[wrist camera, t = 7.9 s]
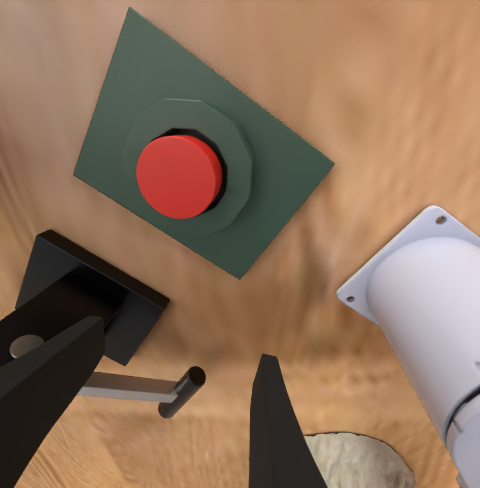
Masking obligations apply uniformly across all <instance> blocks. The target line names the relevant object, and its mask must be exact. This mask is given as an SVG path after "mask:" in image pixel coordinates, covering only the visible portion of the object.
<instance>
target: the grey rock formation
mask: <svg viewBox="0 0 480 488" xmlns="http://www.w3.org/2000/svg"><path fill="white" fill-rule="evenodd" d="M304 438H305V440H306V443H307V445H308V447H309V449H310V452H311V454H312V456H313V458H314V460H315V462H316V464H317V466H318V469H319V471H320V473H321V475H322V477H323V479H324V481H325V483H326V485H327V487H328V488H418V487H417V485H416V482H415V477H414V475H413V473H412V472H411V470H410V468H408V467H407V466H406V465H405V463H404V460H403V459H402V458H401V457H400V456H399V454H398V453H397V452H395V451H393V448H391V447H390V446H388V445H386V443H385V442H381V441H380V440H379V441H378V440H377V439H373V438H370V437H367V436H363V435H360V436H357V435H355V434H352V433H338V434H334V433H330V434H326V435H325V434H317V435H316V436H314V437H312V436H304Z"/></svg>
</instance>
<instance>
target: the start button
mask: <svg viewBox="0 0 480 488" xmlns="http://www.w3.org/2000/svg"><path fill="white" fill-rule="evenodd" d="M137 181H138V185H139V188H140V190H141V193H142V195H143V196H144V198H145V199H146V201H147V202H148V203H149V204H150V205H151V206H152V207H153V208H154V209H155V210H157V211H158V212H160V213H161V214H163V215H165V216H168V217H171V218H176V219H187V218H191V217H194V216H197V215H198V214H200V213H202V212H203V211H204V210H205V209H206V208H207V207H208V206H209V205H210V203H211V202H212V201H213V200H214V198H215V197H216V196H217V194H218V192H219V191H220V188H221V184H222V167H221V164H220V161H219V159H218V157H217V155H216V153H215V152H214V150H213V149H212V148H211V147H210V146H209V145H208V144H207V143H205V142H204V141H202V140H201V139H198V138H196V137H193V136H188V135H177V136H166V137H161V138H158V139H156V140H154V141H152V142H151V143H150V144H148V145H147V146H146V147H145V149H144V150H143V151H142V153H141V155H140V157H139V160H138V164H137Z"/></svg>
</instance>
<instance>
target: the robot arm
mask: <svg viewBox="0 0 480 488" xmlns="http://www.w3.org/2000/svg"><path fill="white" fill-rule="evenodd" d="M440 216H442V219H441V220H440V221H439V222H436V220H437V218H438V217H440ZM336 295H337V298H338V299H339V300H340V301H341V302H343V303H344V304H346V305H347V306H349V307H350V308H352V309H353V310H355V311H356V312H358V313H359V314H361V315H362V316H364V317H365V318H367V319H369V320H370V321H372V322H373V323H375V324H376V325H378V326H379V327H380V328H381V330H382V332H383V334H384V336H385V338H386V339H387V341H388V343H389V345H390V347H391V349H392V350H393V352H394V354H395V356H396V358H397V359H398V361H399V363H400V365H401V367H402V369H403V370H404V372H405V374H406V376H407V378H408V379H409V381H410V383H411V385H412V387H413V389H414V390H415V392H416V394H417V396H418V398H419V400H420V401H421V403H422V405H423V407H424V409H425V410H426V412H427V414H428V416H429V418H430V420H431V421H432V423H433V425H434V427H435V429H436V431H437V432H438V434H439V436H440V438H441V440H442V441H443V443H444V445H445V447H446V448H447V450H448V451H449V454H450V456H451V458H452V460H453V461H454V463H455V465H456V467H457V469H458V471H459V474H458V476H457V478H456V480H457V482H458V484H459V486H460V488H480V238H479V237H477V236H476V235H475V234H474V233H472V232H471V231H470V230H469V229H467V228H466V227H465V226H464V225H462V224H461V223H460V222H459V221H457V220H456V219H455V218H454V217H452V216H451V215H450V214H449V213H447V212H446V211H445V210H444V209H442V208H440V207H438V206H436V205H432V206H428V207H427V208H425V209H424V210H423V211H422V212H421V213H420V214H419V215H418V216H417V217H416V218H414V219H413V220H412V221H411V222H410V223H409V224H408V225H407V226H406V227H405V228H404V229H403V230H401V231H400V232H399V233H398V234H397V235H396V236H395V237H394V238H393V239H392V240H391V241H390V242H389V243H387V244H386V245H385V246H384V247H383V248H382V249H381V250H380V251H379V252H378V253H377V254H376V255H374V256H373V257H372V258H371V259H370V260H369V261H368V262H367V263H366V264H365V265H364V266H363V267H361V268H360V269H359V270H358V271H357V272H356V273H355V274H354V275H353V276H352V277H351V278H350V279H348V280H347V281H346V282H345V283H344V284H343V285H342V286H341V287H340V288H339V289H338V290H337V291H336ZM348 297H352V298H351V299H347V298H348ZM105 351H106V348H105V335H104V322H103V318H101V317H96V316H92V315H89V316H88V317H86V318H84V319H83V320H81V321H79V322H78V323H76V324H74V325H73V326H71V327H69V328H68V329H66V330H65V331H63V332H61V333H60V334H58V335H56V336H55V337H53V338H51V339H50V340H48V341H46V342H44V343H43V344H41V345H39V346H38V347H36V348H34V349H33V350H31V351H29V352H27V353H25V354H24V355H22V356H20V357H18V358H16V359H14V360H13V361H11V362H9V363H7V364H5V365H4V366H2V367H0V488H14V486H15V485H16V483H17V481H18V480H19V478H20V476H21V475H22V473H23V471H24V470H25V468H26V467H27V465H28V463H29V462H30V460H31V459H32V457H33V456H34V454H35V452H36V451H37V449H38V448H39V446H40V444H41V443H42V441H43V440H44V438H45V437H46V436H47V434H48V433H49V431H50V430H51V428H52V427H53V426H54V424H55V423H56V422H57V420H58V419H59V418H60V416H61V415H62V414H63V412H64V411H65V410H66V408H67V407H68V406H69V404H70V403H71V402H72V400H73V399H74V398H75V396H76V395H77V394H78V392H79V391H80V390H81V388H82V387H83V386H84V384H85V383H86V381H87V380H88V379H89V377H90V376H91V375H92V373H93V372H94V370H95V368H96V367H97V365H98V363H99V362H100V360H101V358H102V356H103V355H104V353H105ZM249 488H328V487H327V485H326V483H325V481H324V479H323V477H322V475H321V473H320V471H319V469H318V466H317V464H316V462H315V460H314V458H313V456H312V454H311V452H310V449H309V447H308V445H307V443H306V440H305V438H304V436H303V433H302V431H301V428H300V426H299V423H298V421H297V418H296V416H295V413H294V410H293V407H292V405H291V402H290V399H289V396H288V393H287V390H286V387H285V384H284V380H283V377H282V374H281V370H280V366H279V362H278V359H277V357H275V356H271V355H267V354H262V357H261V360H260V363H259V366H258V369H257V373H256V376H255V379H254V382H253V388H252V397H251V407H250V455H249Z"/></svg>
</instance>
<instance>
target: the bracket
mask: <svg viewBox="0 0 480 488" xmlns="http://www.w3.org/2000/svg"><path fill="white" fill-rule="evenodd" d="M169 301H170V299H168V298H167V297H165V296H163V295H161V294H160V293H158V292H156V291H155V290H153V289H151V288H150V287H148V286H146V285H144V284H143V283H141V282H139V281H138V280H136V279H134V278H133V277H131V276H129V275H127V274H126V273H124V272H122V271H121V270H119V269H117V268H115V267H114V266H112V265H110V264H109V263H107V262H105V261H104V260H102V259H100V258H98V257H97V256H95V255H93V254H92V253H90V252H88V251H87V250H85V249H83V248H81V247H80V246H78V245H76V244H75V243H73V242H71V241H69V240H68V239H66V238H64V237H63V236H61V235H59V234H58V233H56V232H54V231H52V230H50V229H49V230H47V231H45V232H43V233H40V234H38V235H37V236H36V239H35V242H34V246H33V249H32V252H31V256H30V259H29V262H28V266H27V269H26V272H25V276H24V279H23V283H22V286H21V289H20V293H19V296H18V299H17V303H16V306H15V309H16V310H15V311H13V312H12V313H10V314H9V315H8V316H6V317H5V318H3V319H2V320H1V321H0V367H2V366H4V365H5V364H7V363H9V362H11V361H13V360H14V359H16V358H18V357H20V356H22V355H24V354H25V353H27V352H29V351H31V350H33V349H34V348H36V347H38V346H39V345H41V344H43V343H44V342H46V341H48V340H50V339H51V338H53V337H55V336H56V335H58V334H60V333H61V332H63V331H65V330H66V329H68V328H69V327H71V326H73V325H74V324H76V323H78V322H79V321H81V320H83V319H84V318H86V317H88V316H89V315H92V316H96V317H101V318H103V322H104V335H105V348H106V351H105V353H104V356H106V357H108V358H110V359H112V360H114V361H116V362H118V363H119V364H121V365H123V366H126V365H127V364H128V362H129V361H130V359H131V358H132V356H133V355H134V353H135V352H136V350H137V349H138V348H139V346H140V345H141V343H142V342H143V340H144V339H145V337H146V336H147V335H148V333H149V332H150V330H151V329H152V327H153V326H154V324H155V323H156V321H157V320H158V319H159V317H160V316H161V314H162V313H163V311H164V310H165V308H166V307H167V305H168V303H169Z"/></svg>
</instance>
